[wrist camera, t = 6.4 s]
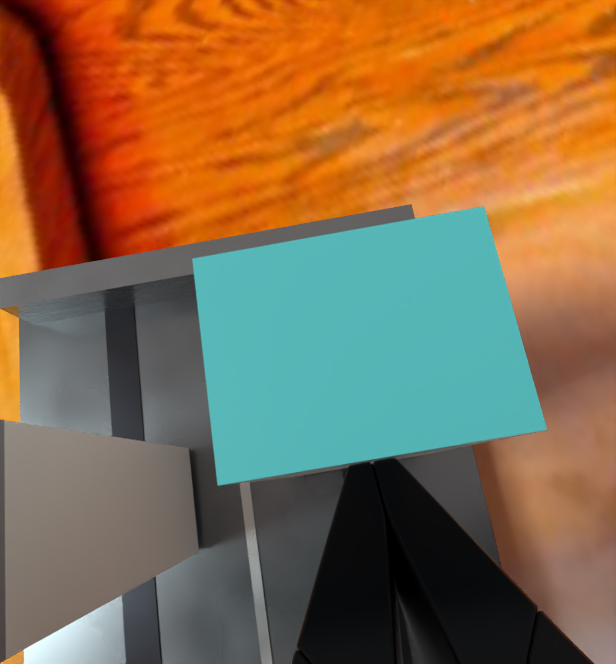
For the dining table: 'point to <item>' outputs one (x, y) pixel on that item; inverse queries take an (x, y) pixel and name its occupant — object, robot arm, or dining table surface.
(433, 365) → the fader turquoise
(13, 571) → the fader white
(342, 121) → the dining table surface
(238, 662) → the console
